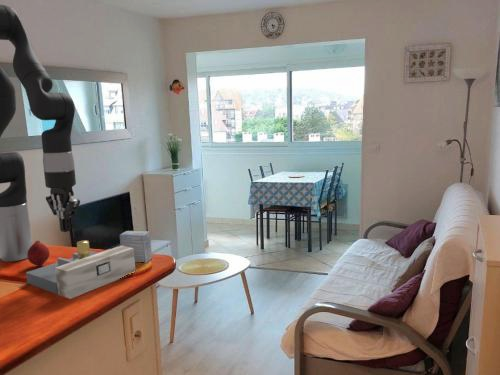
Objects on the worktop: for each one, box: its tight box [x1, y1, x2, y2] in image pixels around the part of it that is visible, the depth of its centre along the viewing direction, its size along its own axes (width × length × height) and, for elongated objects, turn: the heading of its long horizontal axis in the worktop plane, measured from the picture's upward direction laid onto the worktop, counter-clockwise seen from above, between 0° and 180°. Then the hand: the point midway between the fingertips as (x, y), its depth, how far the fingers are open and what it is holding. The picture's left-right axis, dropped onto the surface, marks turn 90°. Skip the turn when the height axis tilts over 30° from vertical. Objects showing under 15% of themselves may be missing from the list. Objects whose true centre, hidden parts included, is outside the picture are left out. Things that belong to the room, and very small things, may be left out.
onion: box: [27, 239, 50, 267], centre depth 124 cm, size 6×6×8 cm
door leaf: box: [25, 250, 99, 295], centre depth 115 cm, size 14×20×5 cm
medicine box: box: [119, 230, 153, 264], centre depth 126 cm, size 8×4×9 cm, turn 78°
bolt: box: [73, 239, 109, 274], centre depth 111 cm, size 11×3×7 cm, turn 55°
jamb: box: [55, 245, 136, 300], centre depth 110 cm, size 5×20×7 cm, turn 145°
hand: (65, 231), depth 116 cm, fingers closed
